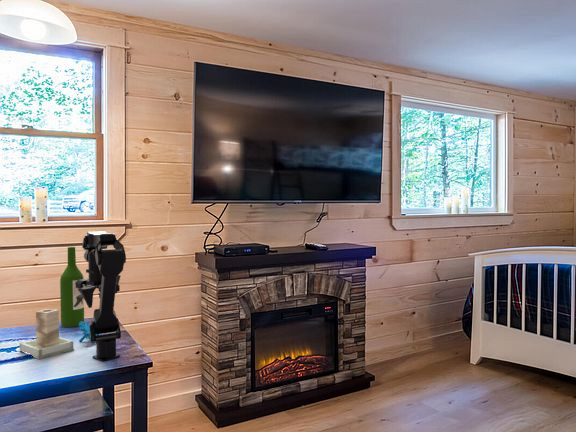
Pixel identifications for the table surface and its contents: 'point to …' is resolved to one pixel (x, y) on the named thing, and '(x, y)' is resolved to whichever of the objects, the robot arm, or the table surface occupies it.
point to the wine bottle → (71, 293)
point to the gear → (85, 330)
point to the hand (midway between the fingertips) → (97, 309)
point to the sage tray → (48, 351)
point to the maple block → (47, 328)
